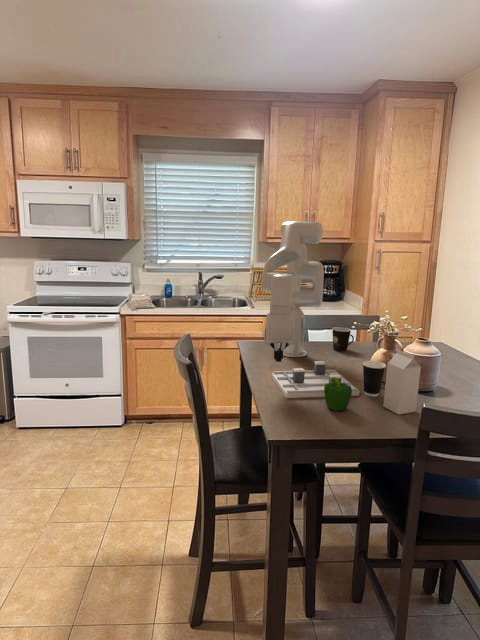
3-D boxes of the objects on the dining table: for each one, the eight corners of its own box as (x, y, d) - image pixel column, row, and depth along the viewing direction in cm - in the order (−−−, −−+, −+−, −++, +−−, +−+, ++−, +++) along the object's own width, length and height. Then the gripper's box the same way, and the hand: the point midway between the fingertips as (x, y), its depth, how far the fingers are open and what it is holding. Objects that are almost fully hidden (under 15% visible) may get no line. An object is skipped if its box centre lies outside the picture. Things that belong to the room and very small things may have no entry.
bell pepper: (354, 412, 142) (357, 382, 140) (331, 414, 140) (333, 383, 138) (341, 402, 150) (343, 373, 148) (319, 404, 148) (321, 375, 146)
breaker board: (271, 376, 173) (271, 371, 173) (335, 375, 178) (336, 369, 177) (286, 398, 152) (286, 391, 152) (359, 395, 156) (359, 389, 156)
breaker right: (328, 387, 158) (329, 374, 158) (337, 386, 159) (338, 374, 158) (330, 389, 156) (331, 376, 155) (340, 389, 157) (341, 376, 156)
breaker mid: (292, 380, 164) (293, 368, 164) (302, 380, 165) (302, 368, 164) (294, 382, 162) (295, 370, 161) (304, 382, 163) (304, 370, 162)
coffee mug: (328, 347, 219) (330, 327, 217) (345, 347, 220) (347, 327, 218) (336, 354, 208) (337, 332, 206) (354, 353, 209) (355, 333, 207)
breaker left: (313, 372, 174) (314, 361, 173) (322, 372, 174) (323, 361, 174) (315, 374, 172) (316, 363, 171) (324, 374, 172) (325, 363, 171)
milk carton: (398, 415, 140) (404, 356, 137) (383, 406, 147) (388, 350, 143) (415, 412, 143) (422, 354, 139) (399, 404, 150) (405, 348, 146)
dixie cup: (386, 393, 159) (389, 363, 157) (378, 400, 153) (381, 368, 150) (364, 388, 164) (367, 359, 161) (356, 394, 157) (358, 364, 155)
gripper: (298, 308, 162) (295, 358, 165) (257, 308, 159) (255, 358, 163) (304, 312, 154) (301, 363, 158) (261, 311, 152) (259, 364, 155)
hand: (278, 360), depth 160 cm, fingers closed
